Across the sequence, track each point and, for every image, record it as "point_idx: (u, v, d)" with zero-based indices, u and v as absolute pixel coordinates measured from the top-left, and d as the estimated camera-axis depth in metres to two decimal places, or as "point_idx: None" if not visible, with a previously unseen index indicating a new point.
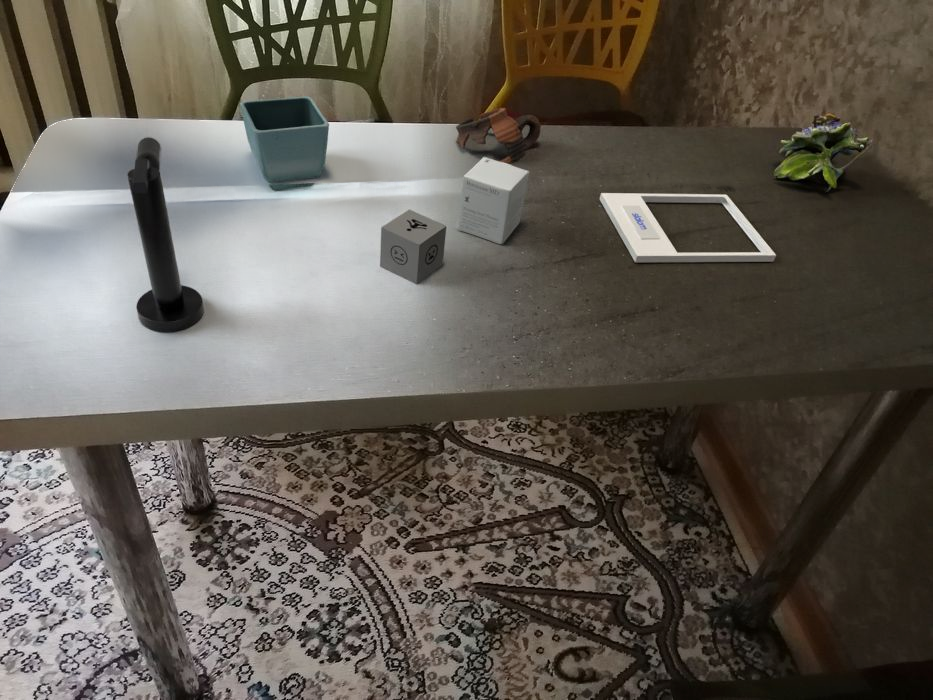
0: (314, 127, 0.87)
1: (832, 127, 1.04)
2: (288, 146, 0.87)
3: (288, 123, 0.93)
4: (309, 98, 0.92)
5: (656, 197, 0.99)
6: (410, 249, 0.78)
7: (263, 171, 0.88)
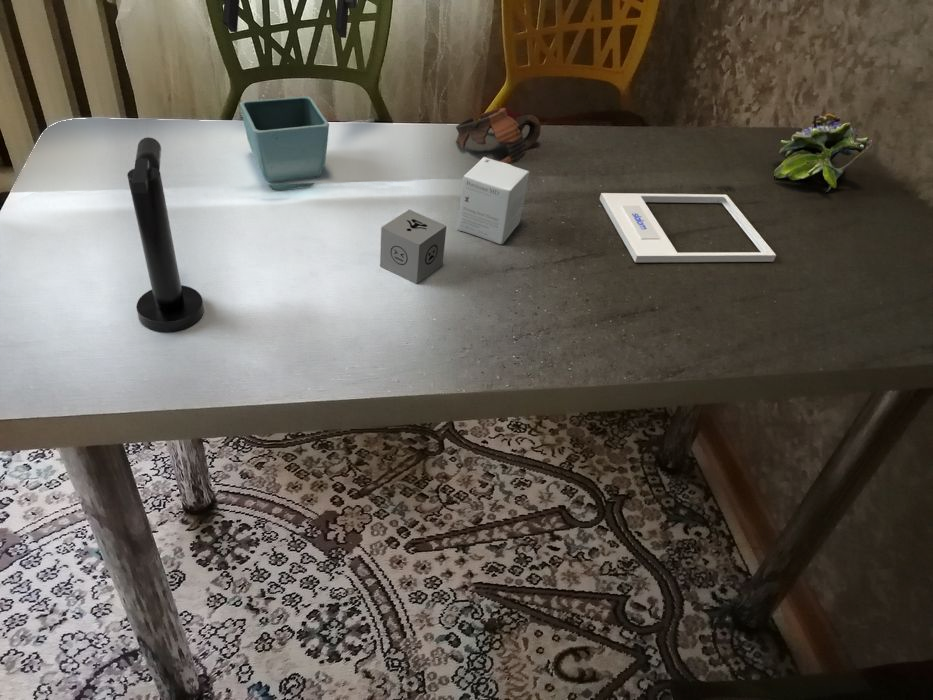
0: (314, 127, 0.87)
1: (832, 127, 1.04)
2: (288, 146, 0.87)
3: (288, 123, 0.93)
4: (309, 98, 0.92)
5: (656, 197, 0.99)
6: (410, 249, 0.78)
7: (263, 171, 0.88)
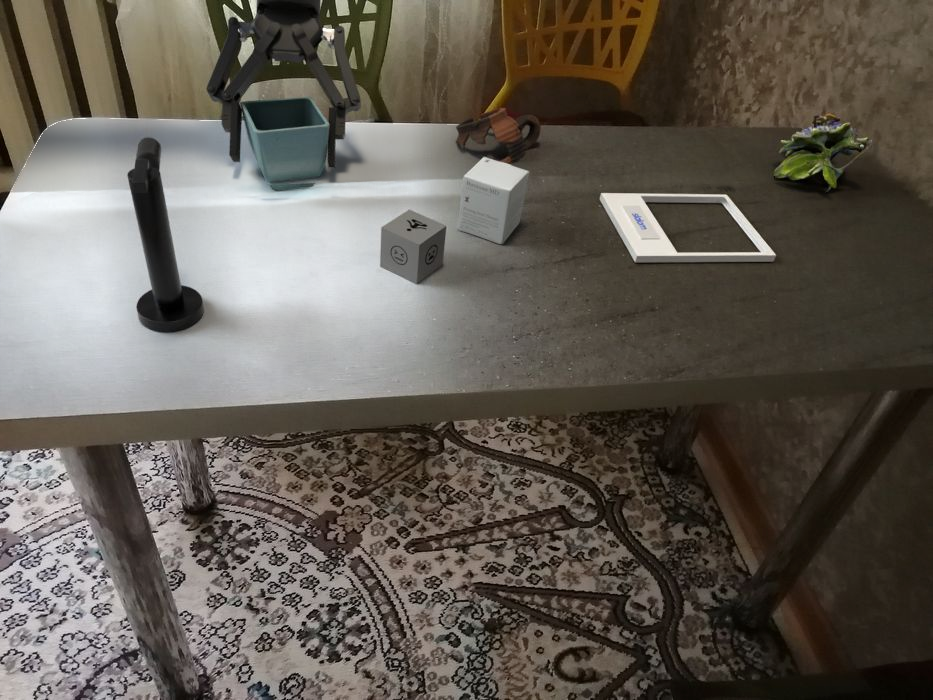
0: (314, 127, 0.87)
1: (832, 127, 1.04)
2: (288, 146, 0.87)
3: (288, 123, 0.93)
4: (309, 98, 0.92)
5: (656, 197, 0.99)
6: (410, 249, 0.78)
7: (263, 171, 0.88)
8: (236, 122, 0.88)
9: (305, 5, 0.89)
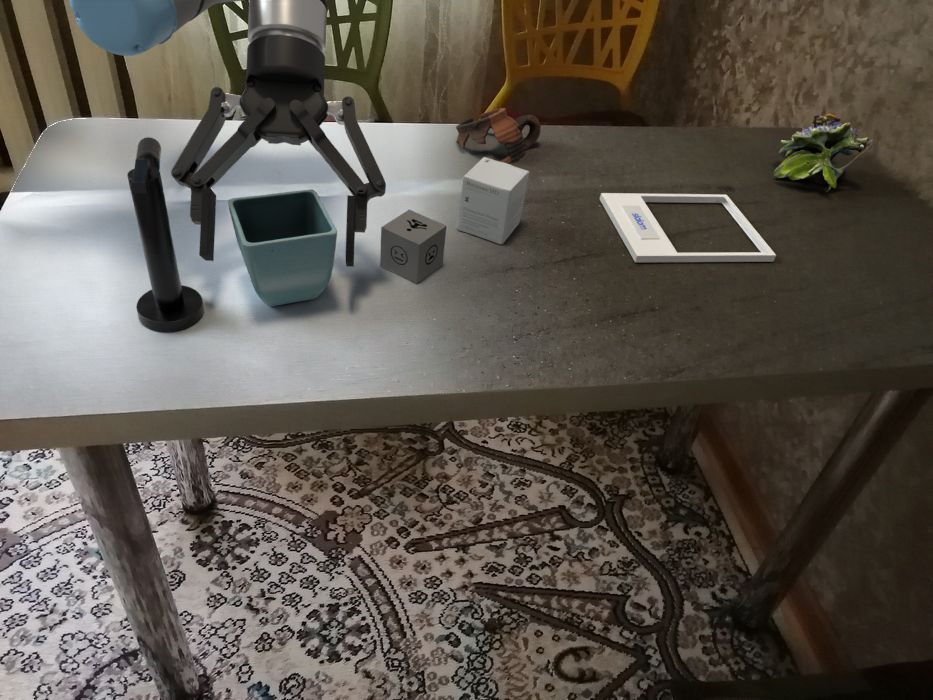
0: (319, 236, 0.70)
1: (832, 127, 1.04)
2: (286, 258, 0.70)
3: (287, 221, 0.77)
4: (313, 192, 0.75)
5: (656, 197, 0.99)
6: (410, 249, 0.78)
7: (255, 288, 0.71)
8: (208, 214, 0.70)
9: (306, 77, 0.71)
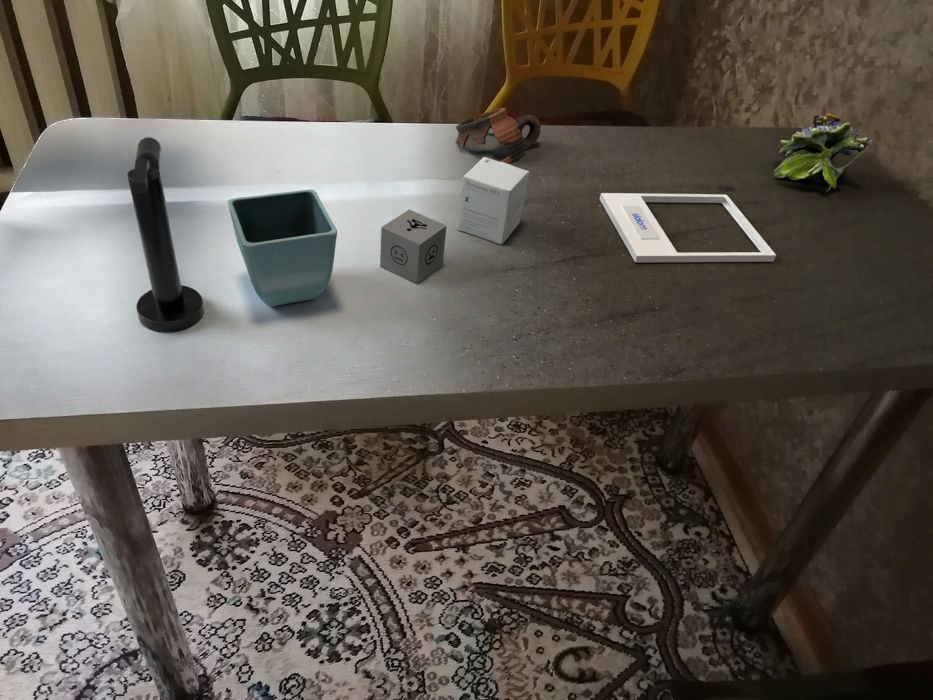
0: (319, 236, 0.70)
1: (832, 127, 1.04)
2: (286, 258, 0.70)
3: (287, 221, 0.77)
4: (313, 192, 0.75)
5: (656, 197, 0.99)
6: (410, 249, 0.78)
7: (255, 288, 0.71)
8: None
9: None
